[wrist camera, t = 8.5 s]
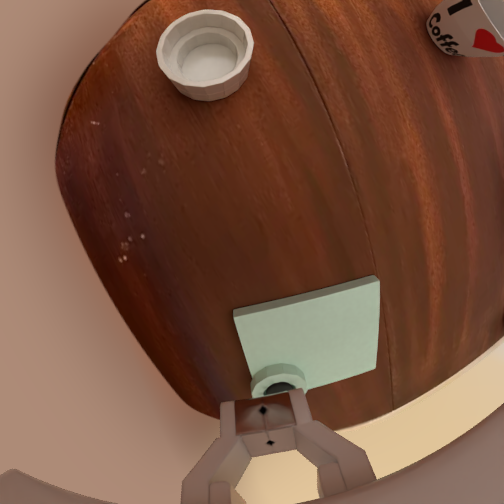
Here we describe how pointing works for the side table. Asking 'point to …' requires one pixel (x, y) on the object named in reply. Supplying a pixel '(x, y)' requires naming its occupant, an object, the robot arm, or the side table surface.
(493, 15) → the cup
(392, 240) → the side table surface
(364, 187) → the side table surface
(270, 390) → the tare button
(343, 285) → the scale
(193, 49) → the bowl
